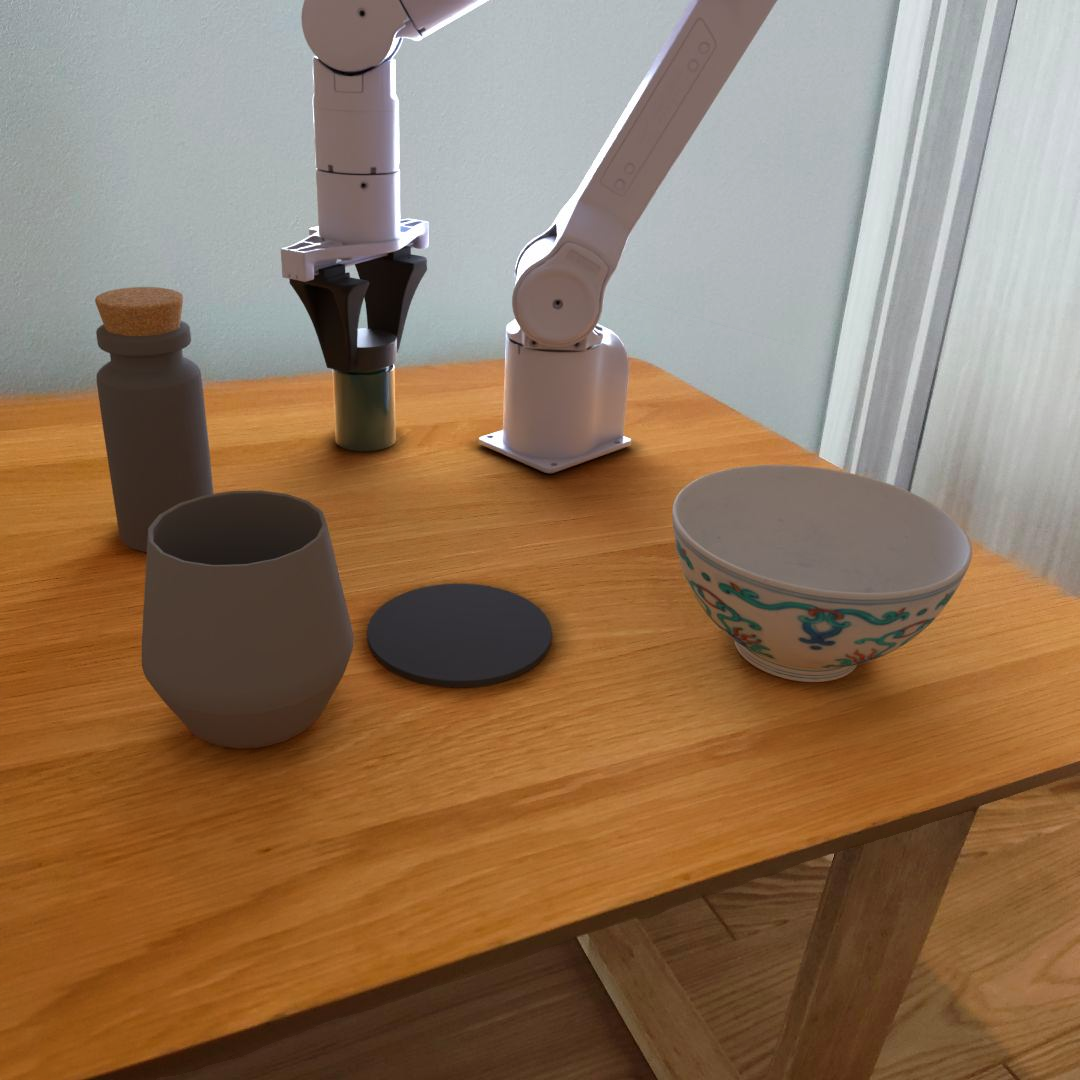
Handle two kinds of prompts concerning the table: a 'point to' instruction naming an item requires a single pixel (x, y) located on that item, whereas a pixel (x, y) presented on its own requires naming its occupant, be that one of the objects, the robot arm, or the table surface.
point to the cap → (375, 349)
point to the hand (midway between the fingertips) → (363, 359)
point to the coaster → (459, 635)
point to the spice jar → (364, 408)
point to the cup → (244, 616)
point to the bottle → (150, 408)
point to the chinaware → (815, 564)
